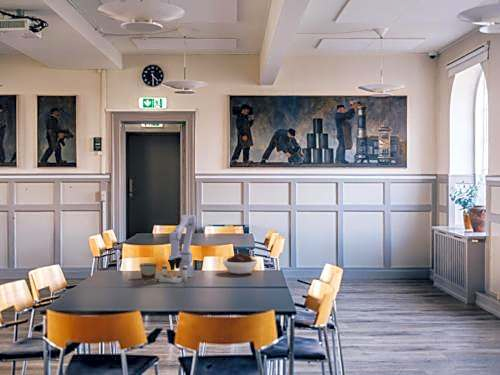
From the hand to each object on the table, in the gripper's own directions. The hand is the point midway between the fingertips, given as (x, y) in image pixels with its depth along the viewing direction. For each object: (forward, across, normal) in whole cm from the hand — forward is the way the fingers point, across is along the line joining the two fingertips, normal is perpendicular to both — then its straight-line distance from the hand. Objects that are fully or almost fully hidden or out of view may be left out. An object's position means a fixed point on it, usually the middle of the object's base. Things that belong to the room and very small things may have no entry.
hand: (175, 269), depth 401 cm
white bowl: (+8, -42, +32) cm, 54 cm away
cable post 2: (+7, +1, +8) cm, 11 cm away
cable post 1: (+7, +1, -8) cm, 11 cm away
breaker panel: (+7, +6, 0) cm, 10 cm away
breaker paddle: (+4, +8, 0) cm, 9 cm away
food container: (+8, -2, -20) cm, 22 cm away
